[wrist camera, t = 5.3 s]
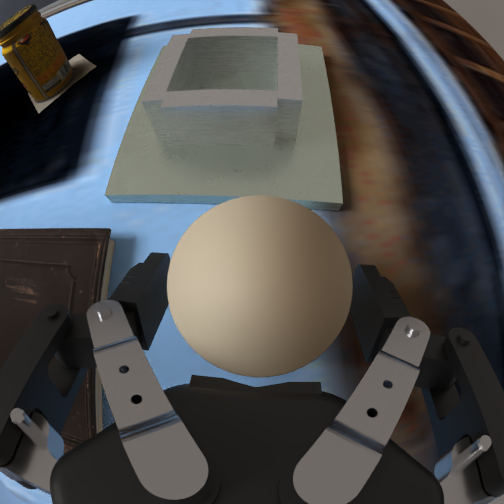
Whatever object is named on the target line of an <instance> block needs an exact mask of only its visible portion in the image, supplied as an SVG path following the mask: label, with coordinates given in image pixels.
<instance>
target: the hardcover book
mask: <svg viewBox="0 0 504 504" xmlns="http://www.w3.org/2000/svg"><path fill="white" fill-rule="evenodd" d="M110 234H111V229H110V228H49V229H0V369H1V368H2V366H3V365H4V363H5V362H6V360H7V358H8V357H9V355H10V354H11V352H12V351H13V349H14V348H15V346H16V345H17V343H18V342H19V340H20V339H21V338H22V336H23V335H24V333H25V332H26V331H27V329H28V328H29V326H30V325H31V324H32V322H33V321H34V320H35V318H36V317H37V315H38V314H39V313H40V312H41V311H42V310H43V309H44V308H46V307H47V306H50V305H53V304H62V305H65V306H66V307H67V309H68V311H69V314H70V315H78V314H87V311H88V309H89V308H90V307H91V306H92V305H93V304H95V303H97V302H99V301H103V300H107V295H108V287H109V279H110V272H111V265H112V258H113V252H114V246H115V242H114V241H113V240H112V239H110ZM55 360H56V357H55V355H54V357H53V359H52V360H51V362H50V364H49V367H48V373H49V371H50V369H51V368H52V366H53V364H54V362H55ZM102 430H103V418H102V381H101V378H100V375H99V371H98V368H97V367H95V368H89V369H88V371H87V373H86V375H85V377H84V380H83V382H82V384H81V386H80V389H79V391H78V393H77V395H76V398H75V400H74V402H73V405H72V407H71V410H70V412H69V414H68V417H67V419H66V422H65V424H64V427H63V430H62V432H61V435H60V436H61V437H62V439H63V442H64V451H63V453H64V454H65V453H66V452H68V451H70V450H71V449H73V448H75V447H76V446H78V445H79V444H81V443H83V442H84V441H86V440H88V439H89V438H91V437H92V436H94V435H96V434H97V433H99V432H100V431H102Z"/></svg>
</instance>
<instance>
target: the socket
mask: <svg viewBox="0 0 504 504" xmlns="http://www.w3.org/2000/svg"><path fill="white" fill-rule="evenodd" d="M253 195H266V196H275V197H280V198H284V199H288V200H291V201H293V202H296V203H298V204H300V205H302V206H304V207H306V208H308V209H315V210H328V211H339V209H340V208H341V206H342V204H343V197H342V185H341V174H340V164H339V154H338V146H337V137H336V130H335V122H334V115H333V108H332V102H331V95H330V89H329V84H328V78H327V72H326V67H325V62H324V57H323V52H322V47H319V46H310V45H301V44H298V39H297V34H292V33H278V28H251V27H234V28H207V29H194V30H192V31H191V33H190V34H182V35H173V36H172V37H171V39H170V41H169V43H168V45H167V46H163V48H162V50H161V52H160V54H159V56H158V58H157V60H156V62H155V64H154V66H153V68H152V70H151V72H150V74H149V76H148V78H147V80H146V83H145V85H144V87H143V89H142V92H141V94H140V96H139V99H138V101H137V103H136V106H135V108H134V111H133V113H132V116H131V118H130V121H129V123H128V126H127V129H126V131H125V134H124V137H123V139H122V142H121V145H120V148H119V151H118V154H117V157H116V160H115V163H114V166H113V169H112V172H111V176H110V179H109V182H108V186H107V189H106V193H105V196H106V197H107V198H108V199H109V200H110V201H111V202H112V203H198V204H221V203H224V202H226V201H229V200H232V199H236V198H240V197H245V196H253Z"/></svg>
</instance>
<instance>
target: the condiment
mask: <svg viewBox="0 0 504 504" xmlns="http://www.w3.org/2000/svg"><path fill="white" fill-rule="evenodd" d="M40 16H41V14H40V12H38V10H37V7H36V6H35V5H34V4H33V5H29V6H27V7H25V8H23V9H22V10H20V11H19V12H17V13H16V14H15V15H13V16H12V17H11V18H9V19H8V20H7V21H6V22H5V23H3V25H2V26H0V46H2V47H3V48H2V54H3V56H4V58H5V59H6V60H7V62H8V63H9V65H10V67H11V68H12V70H13V71H14V72H15V74H16V75H17V77H18V78H19V80H20V81H21V82H22V84H23V85H24V87H25V88H26V89H27V91H28V92H29V93H28V95H29V97H30V98H31V100H32V102H33V104H34V106H35V108H36V109H37V111H38V113H40V112H41V111H42V110H43V109H45V108H46V107H47V106H48V105H49V104H51V103H52V102H53V101H54V100H55V99H57V98H58V97H59V96H60V95H61V94H62V93H64V92H65V91H66V90H67V89H68V88H69V87H70V86H71V85H72V84H74V83H75V82H77V81H78V80H79V79H81V78H82V77H84V76H85V75H86V74H87V73H88V72H89V71H91V70H92V69H94V68H95V67H97V66H96V65H94V64H92V63H91V62H89V61H88V60H86V59H85V58H84V57H82V56H81V55H80V54H78V55H76V56H75V57H73V58H72V59H71V60H69V61H68V59H67V57H66V55H65V54H64V52H63V50H62V48H61V46H60V44H59V42H58V41H57V39H56V37H55V35H54V33H53V31H52V29H51V27H50V25H49V23H48V21H47V20H46V19H45V18H42V17H40ZM73 80H74V81H73Z"/></svg>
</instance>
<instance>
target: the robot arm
mask: <svg viewBox="0 0 504 504" xmlns="http://www.w3.org/2000/svg"><path fill="white" fill-rule="evenodd" d="M169 265H170V257H169V254H168V253H153V252H152V253H150V255H149V256H148V257H147V259H146V260H145V262H144V263H138V264H137V265H135V266H134V267H132V268H131V269H130V270H129V272H128V273H127V274H126V277H124V279H123V280H122V283H120V284H119V286H118V287H117V288H116V290H115V291H114V293H113V294H112V295H111V297H110V298H109V300H103V301H99V302H97V303H95V304H93V305H92V306H91V307H90V308H89V309H88V311H87V314H78V315H70V314H69V311H68V309H67V307H66V306H65V305H62V304H53V305H50V306H47V307H46V308H44V309H43V310H42V311H41V312H40V313H39V314H38V315H37V317H36V318H35V320H34V321H33V322H32V324H31V325H30V326H29V328H28V329H27V331H26V332H25V333H24V335H23V336H22V338H21V339H20V340H19V342H18V343H17V345H16V346H15V348H14V349H13V351H12V352H11V354H10V355H9V357H8V358H7V360H6V362H5V363H4V365H3V366H2V368H1V369H0V471H1V472H2V473H3V474H5V475H6V476H8V477H9V478H10V479H12V480H15V481H16V482H18V483H19V484H21V485H22V486H24V487H26V488H28V489H37V488H38V489H40V490H42V491H44V492H46V493H48V494H50V495H51V498H52V503H53V504H488V503H489V502H491V501H493V500H495V499H496V498H498V497H500V496H501V495H503V494H504V391H503V389H502V387H501V385H500V383H499V381H498V379H497V377H496V375H495V373H494V371H493V369H492V367H491V365H490V363H489V361H488V359H487V357H486V355H485V353H484V351H483V349H482V348H481V346H480V344H479V342H478V340H477V339H476V337H475V336H474V335H473V334H472V333H471V332H470V331H468V330H466V329H464V328H460V327H455V328H452V329H451V330H450V331H449V333H448V335H447V337H444V336H439V335H434V334H430V330H429V328H428V326H427V325H426V324H425V323H424V322H422V321H421V320H419V319H417V318H413V317H411V315H410V314H409V312H408V310H407V308H406V306H405V304H404V303H403V301H402V299H401V297H400V295H399V294H398V293H397V290H396V288H395V287H394V285H393V283H391V282H390V281H389V280H388V279H387V278H385V277H381V275H380V274H379V272H378V270H377V268H376V267H375V266H374V265H357V267H356V269H355V274H354V278H353V290H352V300H351V305H350V312H351V316H352V319H353V322H354V325H355V328H356V331H357V335H358V338H359V341H360V344H361V348H362V351H363V355H364V358H365V361H366V363H372V364H371V366H370V367H369V369H368V371H367V372H366V374H365V375H364V377H363V378H362V380H361V382H360V383H359V385H358V386H357V388H356V389H355V391H354V392H353V394H352V395H351V397H350V398H349V400H348V401H346V400H344V399H342V398H340V397H338V396H336V395H333V394H330V393H327V392H323V391H321V383H320V382H286V383H281V384H275V385H269V386H263V387H252V386H248V385H245V384H241V383H238V382H234V381H231V380H227V379H224V378H216V377H206V376H198V375H192V377H191V380H190V384H184V385H178V386H174V387H171V388H168V389H166V390H164V391H163V390H162V388H161V386H160V384H159V382H158V380H157V378H156V376H155V374H154V372H153V370H152V368H151V366H150V364H149V362H148V360H147V358H146V356H145V354H144V352H143V350H149V348H150V346H151V343H152V341H153V339H154V336H155V334H156V332H157V329H158V327H159V325H160V322H161V320H162V318H163V316H164V313H165V311H166V309H167V307H168V304H169V302H168V294H167V277H168V271H169ZM142 349H143V350H142ZM54 355H55V357H56V360H55V362H54V364H53V366H52V368H51V369H50V371H49V373H48V367H49V364H50V362H51V360H52V359H53V357H54ZM95 367H97V368H98V371H99V375H100V378H101V381H102V384H103V388H104V391H105V394H106V397H107V400H108V403H109V405H110V408H111V411H112V414H113V416H114V419H115V423H113V424H111V425H110V426H108V427H107V428H105V429H104V430H102V431H100V432H99V433H97V434H96V435H94V436H92V437H91V438H89V439H88V440H86V441H84V442H83V443H81V444H79V445H78V446H76V447H75V448H73V449H71V450H70V451H68V452H66V453H65V454H64V453H63V451H64V442H63V439H62V437H61V436H60V435H61V432H62V430H63V427H64V424H65V422H66V419H67V417H68V414H69V412H70V410H71V407H72V405H73V402H74V400H75V398H76V395H77V393H78V391H79V389H80V386H81V384H82V382H83V380H84V377H85V375H86V373H87V371H88V369H89V368H95ZM456 380H457V381H458V383H459V386H460V389H461V397H459V395H458V392H457V389H456V387H455V384H454V383H455V381H456ZM414 386H416V387H421V390H422V393H423V396H424V399H425V403H426V406H427V410H428V413H429V417H430V421H431V424H432V428H433V432H434V436H435V440H436V444H437V448H438V453H439V457H440V458H439V459H438V461H437V463H436V465H435V474H434V475H433V474H432V473H431V472H430V471H429V470H427V469H426V468H425V467H424V466H422V465H421V464H420V463H419V462H417V461H416V460H415V459H414V458H413V457H411V456H410V455H409V454H408V453H407V452H405V451H404V450H403V449H402V448H401V447H400V446H398V445H397V444H396V443H395V442H394V441H392V440H391V439H390V436H391V434H392V432H393V430H394V428H395V426H396V424H397V422H398V420H399V418H400V416H401V414H402V412H403V410H404V407H405V405H406V403H407V401H408V399H409V396H410V394H411V392H412V389H413V387H414Z"/></svg>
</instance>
